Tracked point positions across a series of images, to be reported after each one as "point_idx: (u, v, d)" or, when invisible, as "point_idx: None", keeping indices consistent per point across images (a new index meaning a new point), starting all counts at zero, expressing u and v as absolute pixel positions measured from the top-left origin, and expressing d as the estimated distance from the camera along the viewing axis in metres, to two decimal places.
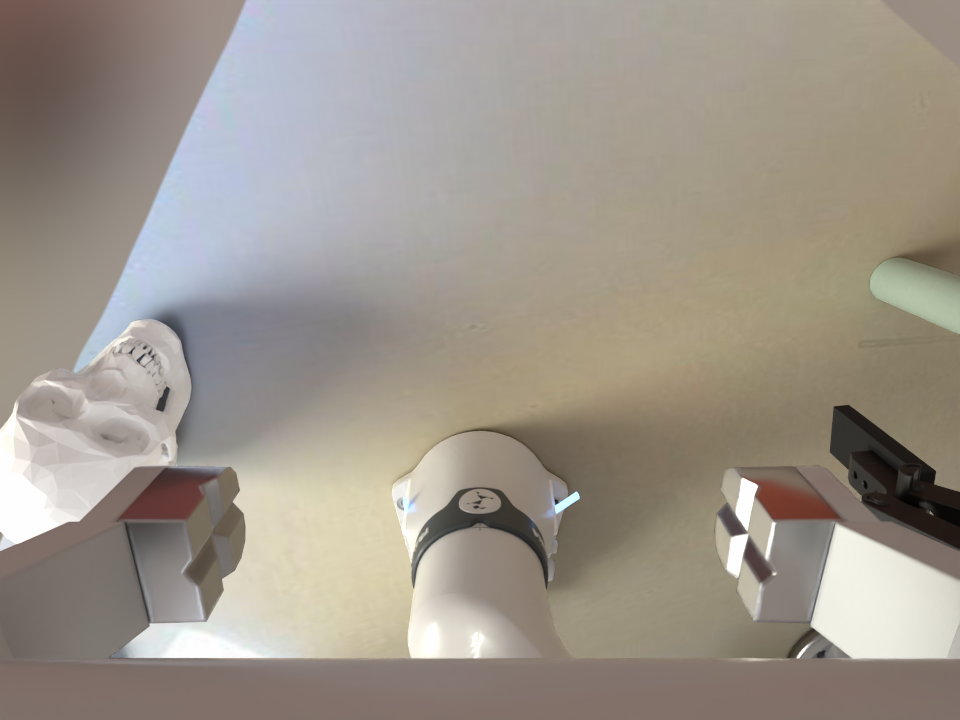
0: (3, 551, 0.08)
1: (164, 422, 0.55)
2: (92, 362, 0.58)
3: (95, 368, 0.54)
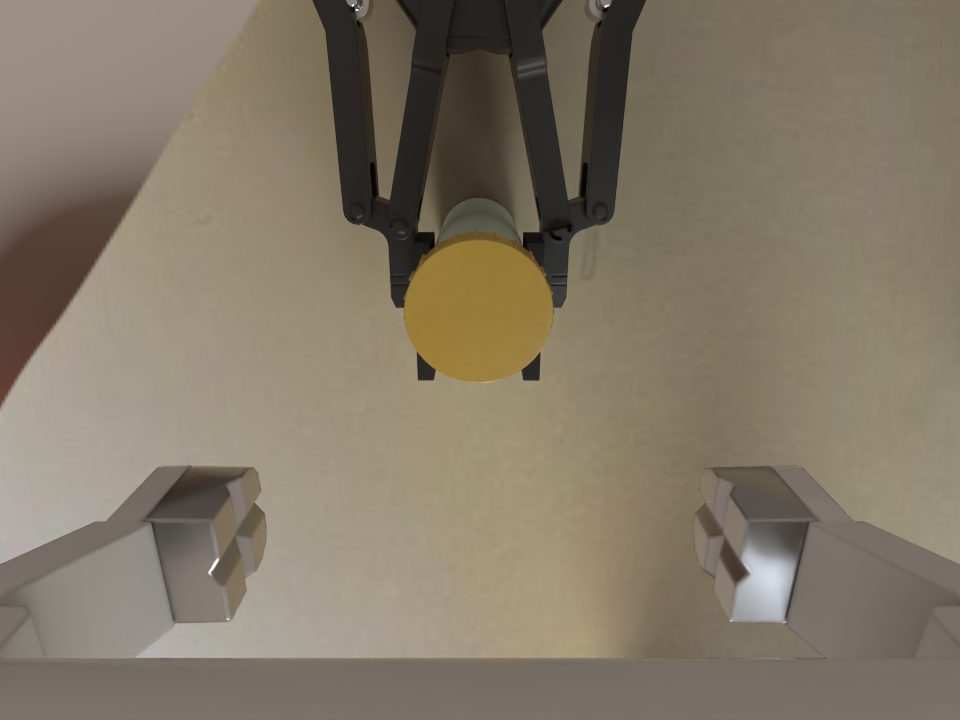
0: (32, 551, 0.08)
1: None
2: None
3: None
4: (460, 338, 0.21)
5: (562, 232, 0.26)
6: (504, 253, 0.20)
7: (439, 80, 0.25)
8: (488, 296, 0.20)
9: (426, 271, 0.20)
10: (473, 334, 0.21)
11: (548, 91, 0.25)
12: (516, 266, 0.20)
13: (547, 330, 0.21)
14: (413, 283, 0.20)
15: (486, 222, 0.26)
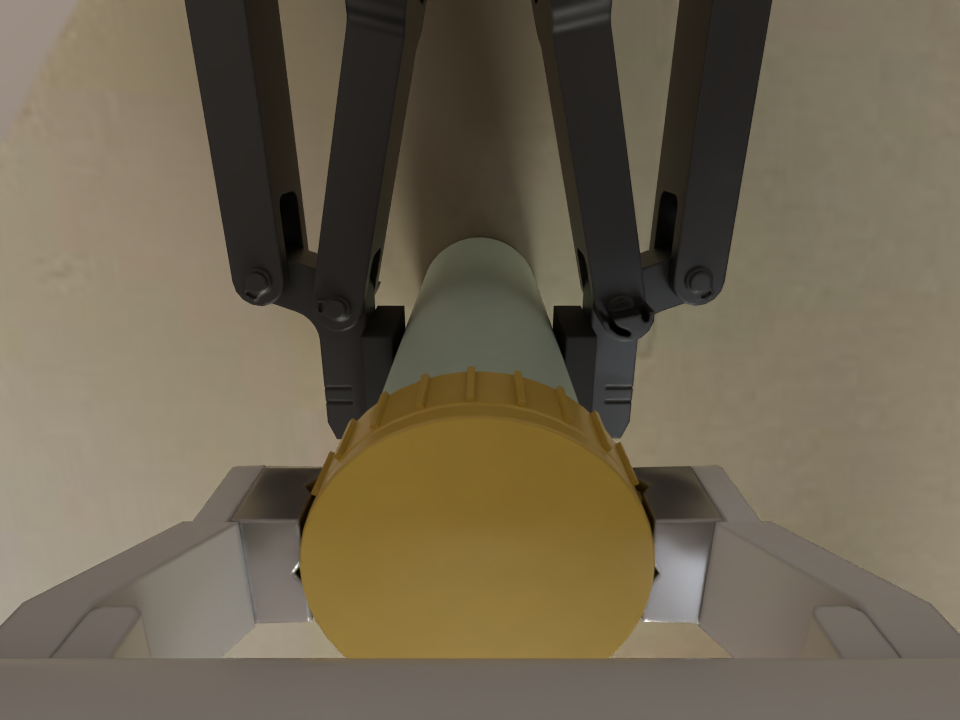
0: (127, 551, 0.08)
1: None
2: None
3: None
4: (434, 622, 0.09)
5: (633, 322, 0.14)
6: (541, 447, 0.08)
7: (402, 39, 0.13)
8: (500, 540, 0.08)
9: (347, 487, 0.08)
10: (465, 615, 0.09)
11: (612, 60, 0.13)
12: (570, 475, 0.08)
13: (639, 607, 0.09)
14: (317, 513, 0.08)
15: (492, 307, 0.14)
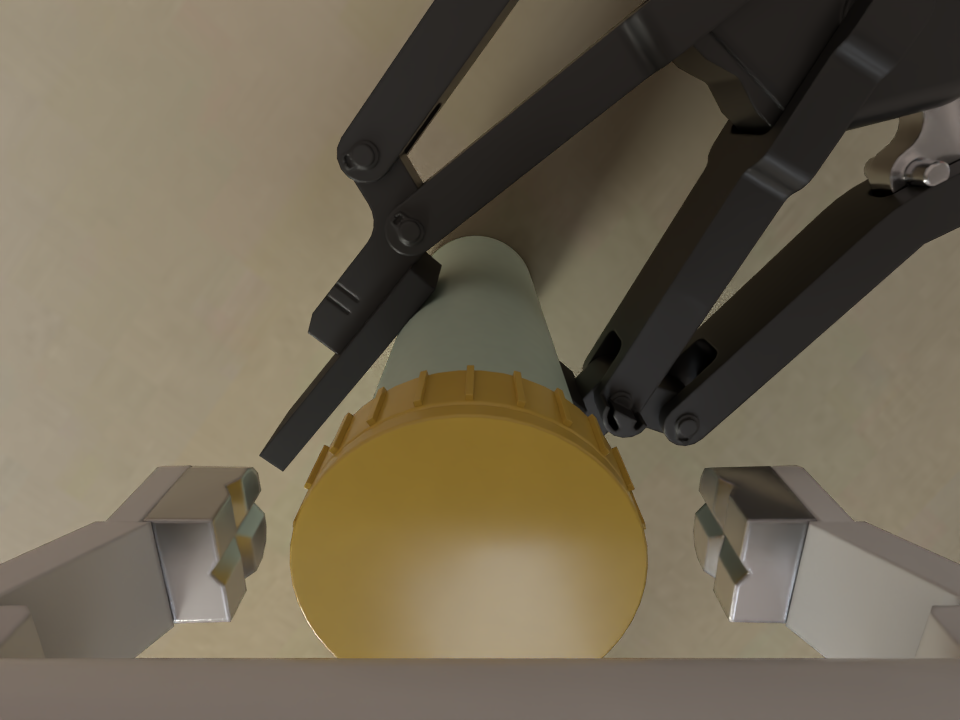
0: (32, 551, 0.08)
1: None
2: None
3: None
4: (459, 633, 0.09)
5: (626, 422, 0.15)
6: (447, 436, 0.08)
7: (643, 78, 0.13)
8: (467, 536, 0.08)
9: (308, 549, 0.08)
10: (482, 616, 0.09)
11: (764, 226, 0.14)
12: (490, 449, 0.08)
13: (638, 538, 0.08)
14: (298, 583, 0.09)
15: (542, 333, 0.14)
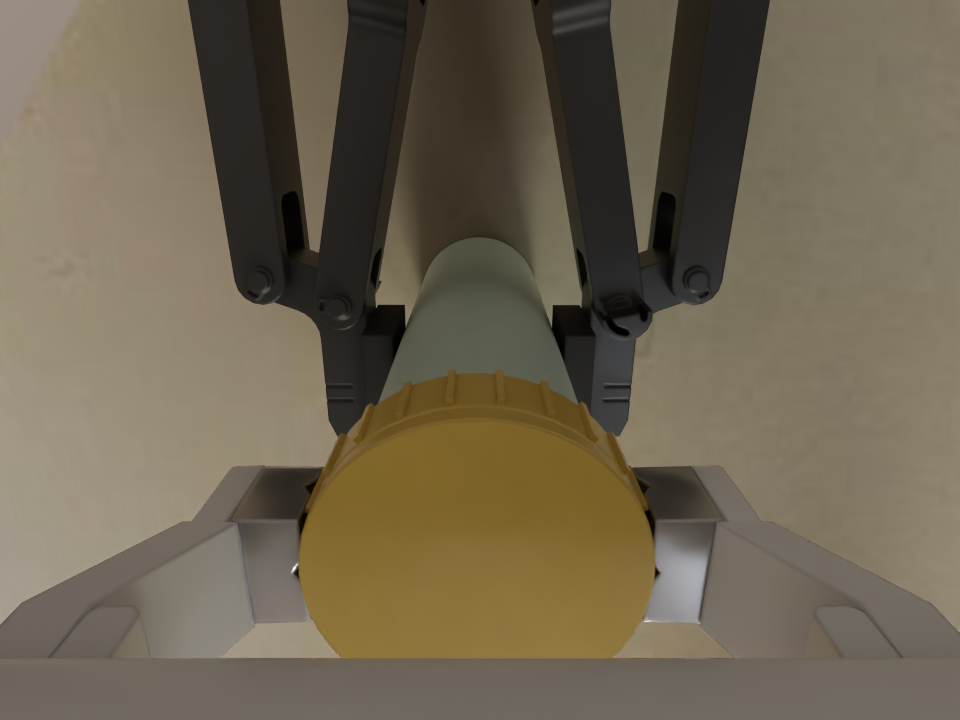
0: (126, 551, 0.08)
1: None
2: None
3: None
4: (516, 627, 0.09)
5: (631, 322, 0.14)
6: (353, 486, 0.08)
7: (403, 41, 0.13)
8: (443, 549, 0.08)
9: (341, 638, 0.09)
10: (518, 603, 0.09)
11: (611, 62, 0.13)
12: (394, 471, 0.08)
13: (583, 455, 0.08)
14: None
15: (492, 306, 0.14)
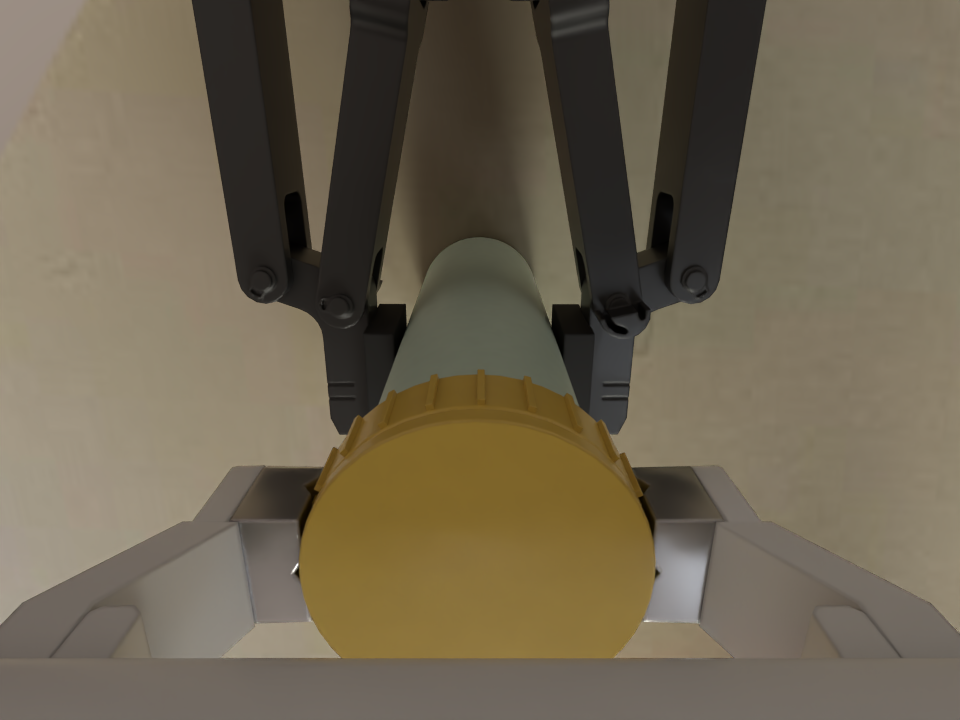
0: (127, 551, 0.08)
1: None
2: None
3: None
4: (551, 568, 0.08)
5: (629, 320, 0.14)
6: (340, 632, 0.09)
7: (404, 43, 0.13)
8: (431, 593, 0.09)
9: None
10: (521, 556, 0.08)
11: (609, 64, 0.13)
12: (336, 600, 0.09)
13: (373, 455, 0.08)
14: None
15: (492, 304, 0.14)
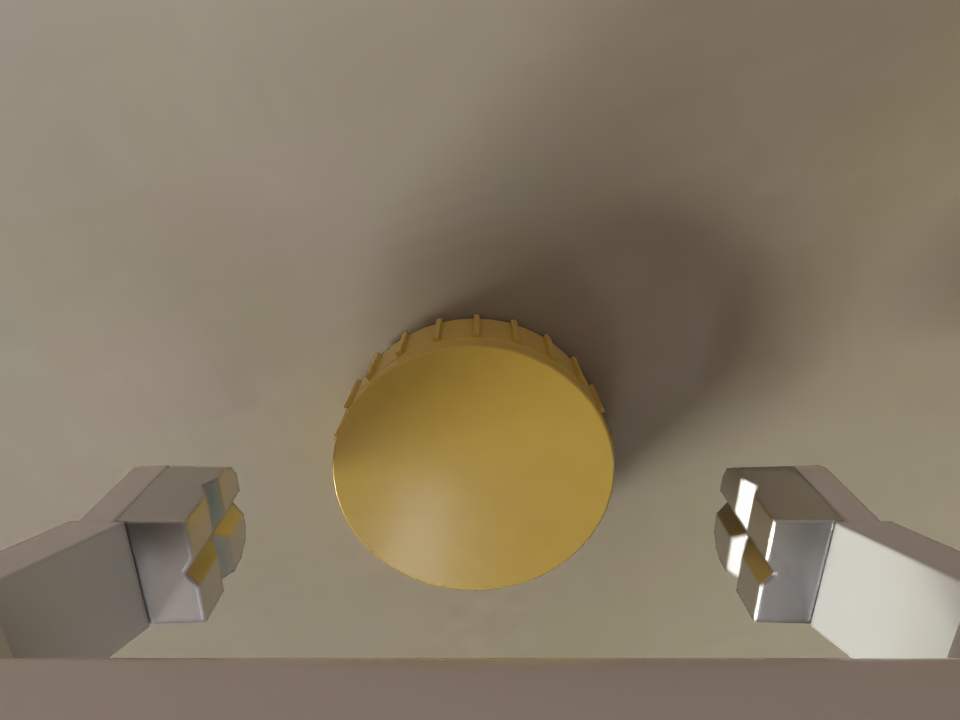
0: (3, 551, 0.08)
1: None
2: None
3: None
4: (531, 468, 0.11)
5: None
6: (364, 523, 0.11)
7: None
8: (437, 490, 0.11)
9: (488, 579, 0.12)
10: (508, 458, 0.11)
11: None
12: (362, 496, 0.11)
13: (392, 374, 0.10)
14: (519, 580, 0.12)
15: None
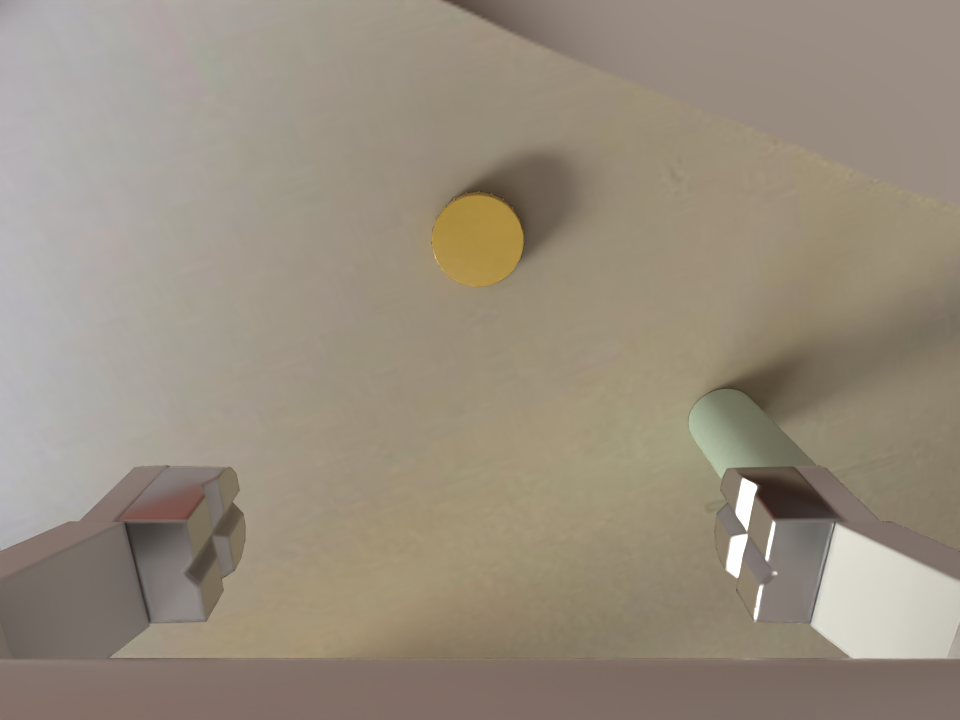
0: (3, 551, 0.08)
1: None
2: None
3: None
4: (496, 238, 0.33)
5: None
6: (441, 259, 0.34)
7: None
8: (466, 246, 0.33)
9: (482, 282, 0.34)
10: (489, 234, 0.33)
11: None
12: (441, 249, 0.33)
13: (452, 204, 0.33)
14: (493, 282, 0.34)
15: None
